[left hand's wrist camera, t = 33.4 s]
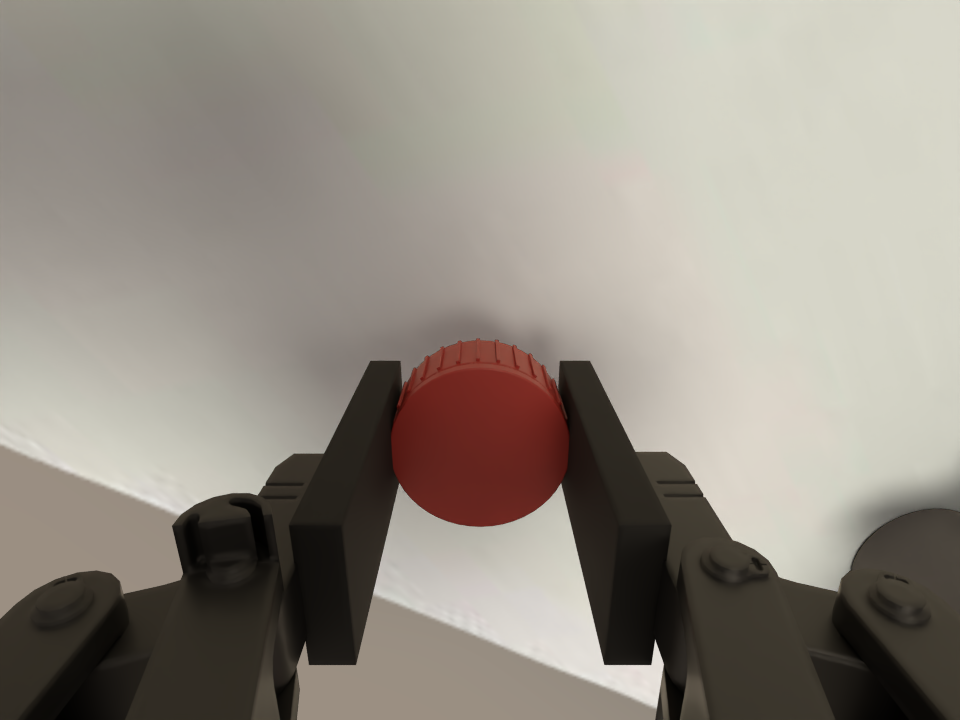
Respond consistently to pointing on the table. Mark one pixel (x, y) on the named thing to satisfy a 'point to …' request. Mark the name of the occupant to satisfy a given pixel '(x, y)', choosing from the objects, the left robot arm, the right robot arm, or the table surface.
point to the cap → (480, 434)
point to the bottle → (919, 551)
